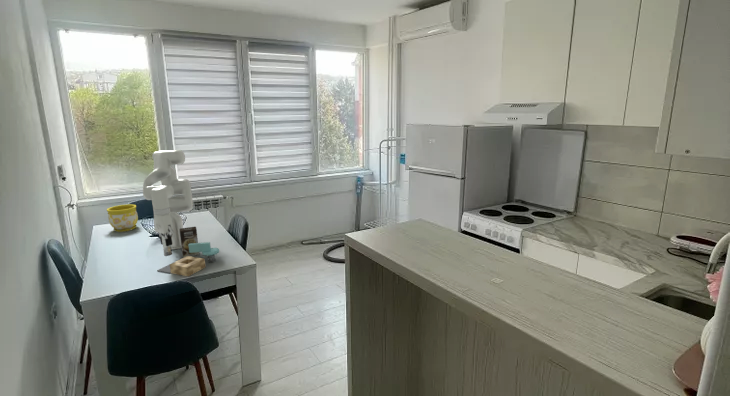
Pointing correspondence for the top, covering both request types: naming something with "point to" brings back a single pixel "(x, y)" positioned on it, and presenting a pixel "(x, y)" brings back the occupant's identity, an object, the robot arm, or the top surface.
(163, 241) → the hook peg
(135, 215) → the flowerpot
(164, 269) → the place mat
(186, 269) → the block
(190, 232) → the coffee box
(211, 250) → the teal toy sofa
